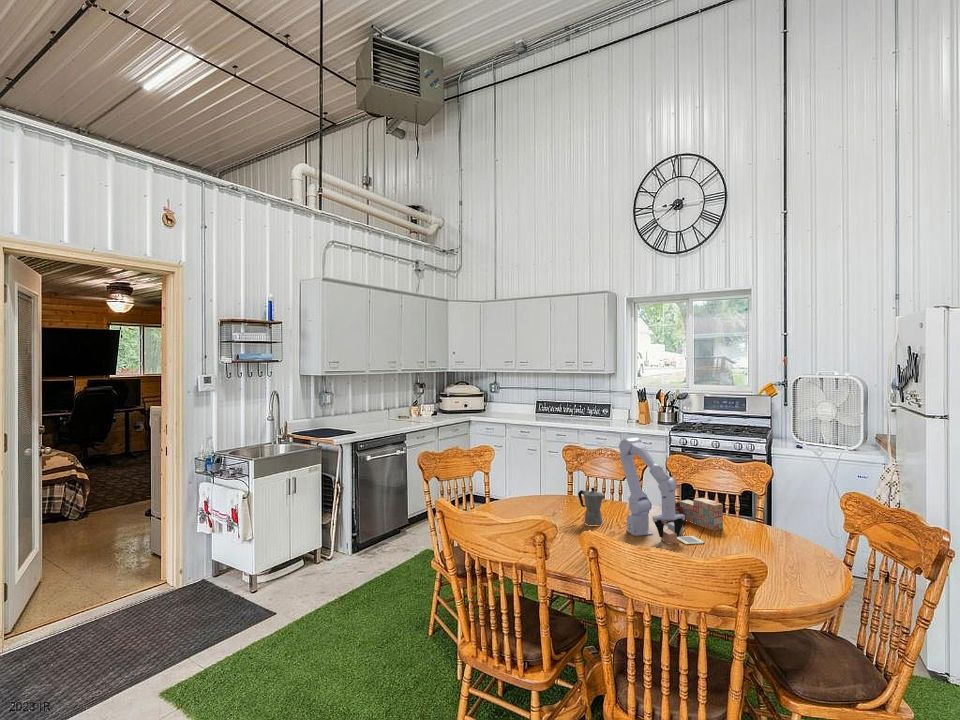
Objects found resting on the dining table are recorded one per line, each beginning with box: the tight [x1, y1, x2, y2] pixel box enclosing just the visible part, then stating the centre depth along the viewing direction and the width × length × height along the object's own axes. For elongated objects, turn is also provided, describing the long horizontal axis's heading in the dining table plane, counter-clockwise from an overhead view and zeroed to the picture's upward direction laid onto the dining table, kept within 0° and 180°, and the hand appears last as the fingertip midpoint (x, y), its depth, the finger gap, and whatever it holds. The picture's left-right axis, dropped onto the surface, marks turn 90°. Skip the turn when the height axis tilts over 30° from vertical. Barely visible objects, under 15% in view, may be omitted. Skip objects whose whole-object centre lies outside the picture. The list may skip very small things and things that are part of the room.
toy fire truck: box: [665, 501, 687, 523], centre depth 252 cm, size 7×12×10 cm, turn 34°
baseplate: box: [677, 535, 706, 546], centre depth 224 cm, size 9×9×1 cm
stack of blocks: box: [678, 497, 724, 531], centre depth 249 cm, size 21×6×12 cm, turn 24°
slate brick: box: [667, 521, 684, 536], centre depth 235 cm, size 4×6×4 cm, turn 10°
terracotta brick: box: [660, 528, 678, 544], centre depth 224 cm, size 4×6×4 cm, turn 10°
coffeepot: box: [577, 487, 606, 525], centre depth 251 cm, size 15×9×18 cm, turn 44°
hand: (669, 536), depth 224 cm, fingers open, 7 cm apart
